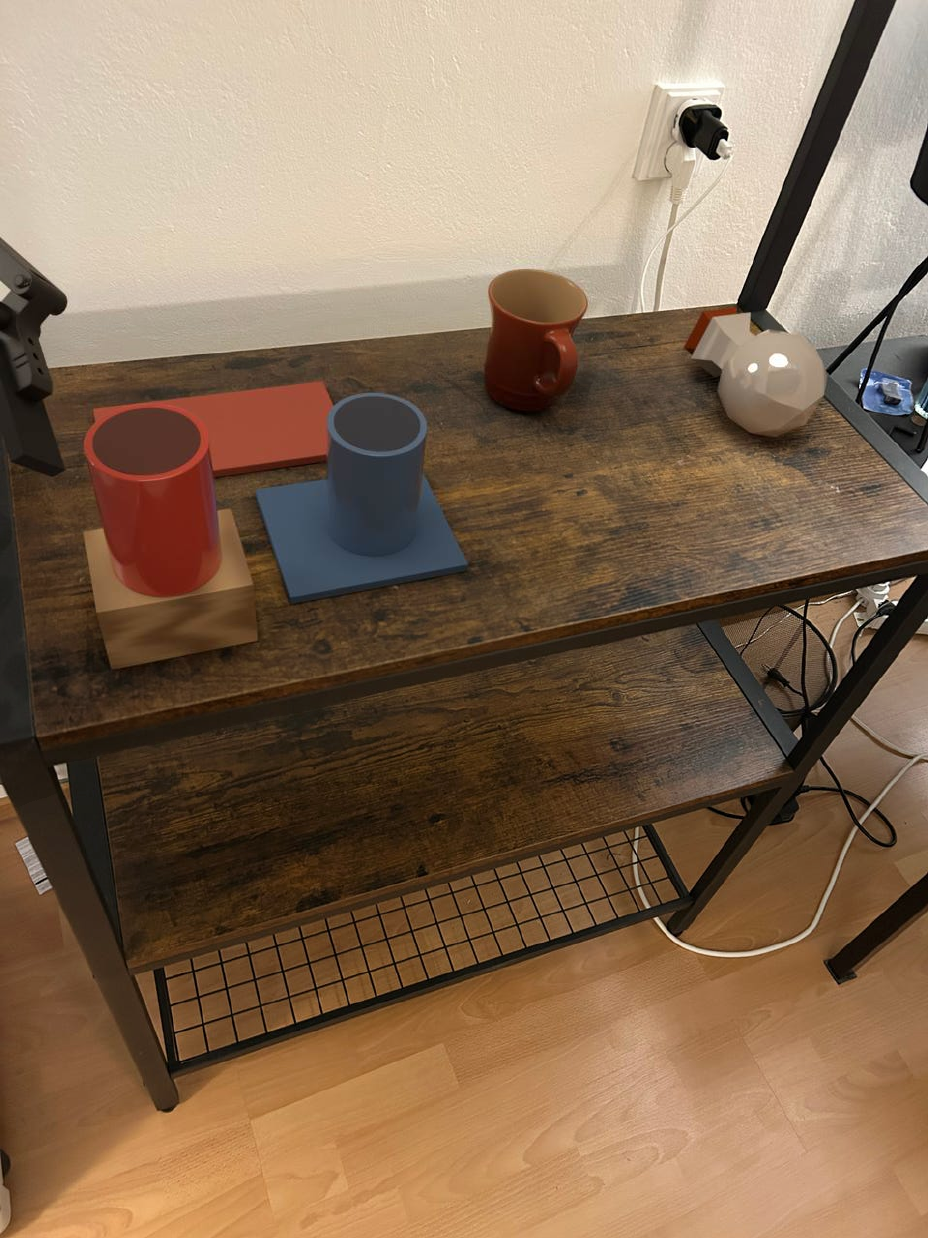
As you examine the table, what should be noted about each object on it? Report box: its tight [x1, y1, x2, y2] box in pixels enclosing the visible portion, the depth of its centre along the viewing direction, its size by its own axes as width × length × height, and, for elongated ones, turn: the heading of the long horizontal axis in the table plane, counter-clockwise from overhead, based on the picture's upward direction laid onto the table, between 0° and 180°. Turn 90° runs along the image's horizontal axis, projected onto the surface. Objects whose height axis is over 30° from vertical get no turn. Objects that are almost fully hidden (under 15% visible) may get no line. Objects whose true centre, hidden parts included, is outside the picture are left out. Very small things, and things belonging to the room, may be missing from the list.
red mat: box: [92, 380, 335, 479], centre depth 83 cm, size 20×10×1 cm, turn 110°
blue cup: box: [325, 392, 428, 556], centre depth 73 cm, size 7×7×10 cm
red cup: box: [83, 404, 222, 597], centre depth 61 cm, size 7×7×10 cm
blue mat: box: [254, 472, 469, 605], centre depth 77 cm, size 14×12×1 cm
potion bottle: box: [683, 306, 829, 438], centre depth 91 cm, size 9×10×15 cm
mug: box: [483, 268, 589, 412], centre depth 87 cm, size 12×9×10 cm
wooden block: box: [82, 508, 259, 671], centre depth 67 cm, size 10×8×6 cm
